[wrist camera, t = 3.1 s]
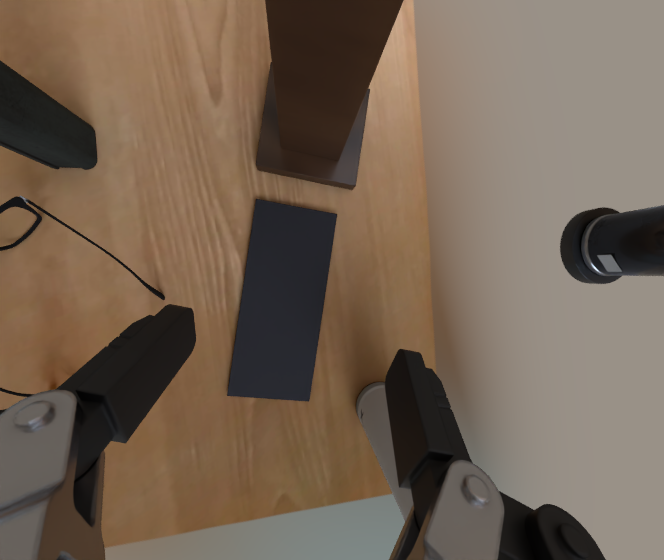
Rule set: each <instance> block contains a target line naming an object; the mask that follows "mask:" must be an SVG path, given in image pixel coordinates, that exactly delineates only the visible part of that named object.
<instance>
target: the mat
mask: <svg viewBox="0 0 664 560" xmlns="http://www.w3.org/2000/svg"><path fill="white" fill-rule="evenodd" d="M336 218H337V214H333V213H328V212H323V211H317V210H312V209H307V208H302V207H296V206H291V205H286V204H281V203H275V202H270V201H265V200H260V199H256V203H255V210H254V216H253V223H252V230H251V237H250V244H249V250H248V257H247V264H246V271H245V278H244V284H243V291H242V298H241V305H240V312H239V318H238V325H237V332H236V339H235V346H234V352H233V359H232V366H231V373H230V380H229V386H228V393H227V396H239V397H254V398H268V399H282V400H297V401H309V399H310V392H311V386H312V379H313V372H314V366H315V359H316V352H317V346H318V339H319V332H320V325H321V319H322V312H323V305H324V299H325V292H326V285H327V279H328V272H329V265H330V259H331V252H332V245H333V239H334V232H335V225H336Z"/></svg>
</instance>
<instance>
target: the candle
mask: <svg viewBox="0 0 664 560" xmlns="http://www.w3.org/2000/svg"><path fill="white" fill-rule="evenodd" d="M0 146H3V147H5V148H7V149H9V150H12V151H14V152H16V153H19V154H21V155H23V156H26V157H28V158H30V159H33V160H35V161H37V162H40V163H42V164H44V165H46V166H49V167H51V168H54V169H59V168H60V167H70V168H83V169H91V168H93V167H94V166H95V165H96V163H97V151H96V138H95V131H94V129H93V128H92V127H91V126H90V125H89V124H88V123H86V122H85V121H83V120H82V119H81V118H79V117H78V116H76V115H75V114H74V113H72V112H71V111H70V110H68V109H67V108H65V107H64V106H63V105H61V104H60V103H58V102H57V101H56V100H54V99H53V98H52V97H50V96H49V95H47V94H46V93H45V92H43V91H42V90H40V89H39V88H38V87H36V86H35V85H33V84H32V83H31V82H29V81H28V80H27V79H25V78H24V77H22V76H21V75H20V74H18V73H17V72H15V71H14V70H13V69H11V68H10V67H9V66H7V65H6V64H4V63H3V62H2V61H0Z"/></svg>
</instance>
